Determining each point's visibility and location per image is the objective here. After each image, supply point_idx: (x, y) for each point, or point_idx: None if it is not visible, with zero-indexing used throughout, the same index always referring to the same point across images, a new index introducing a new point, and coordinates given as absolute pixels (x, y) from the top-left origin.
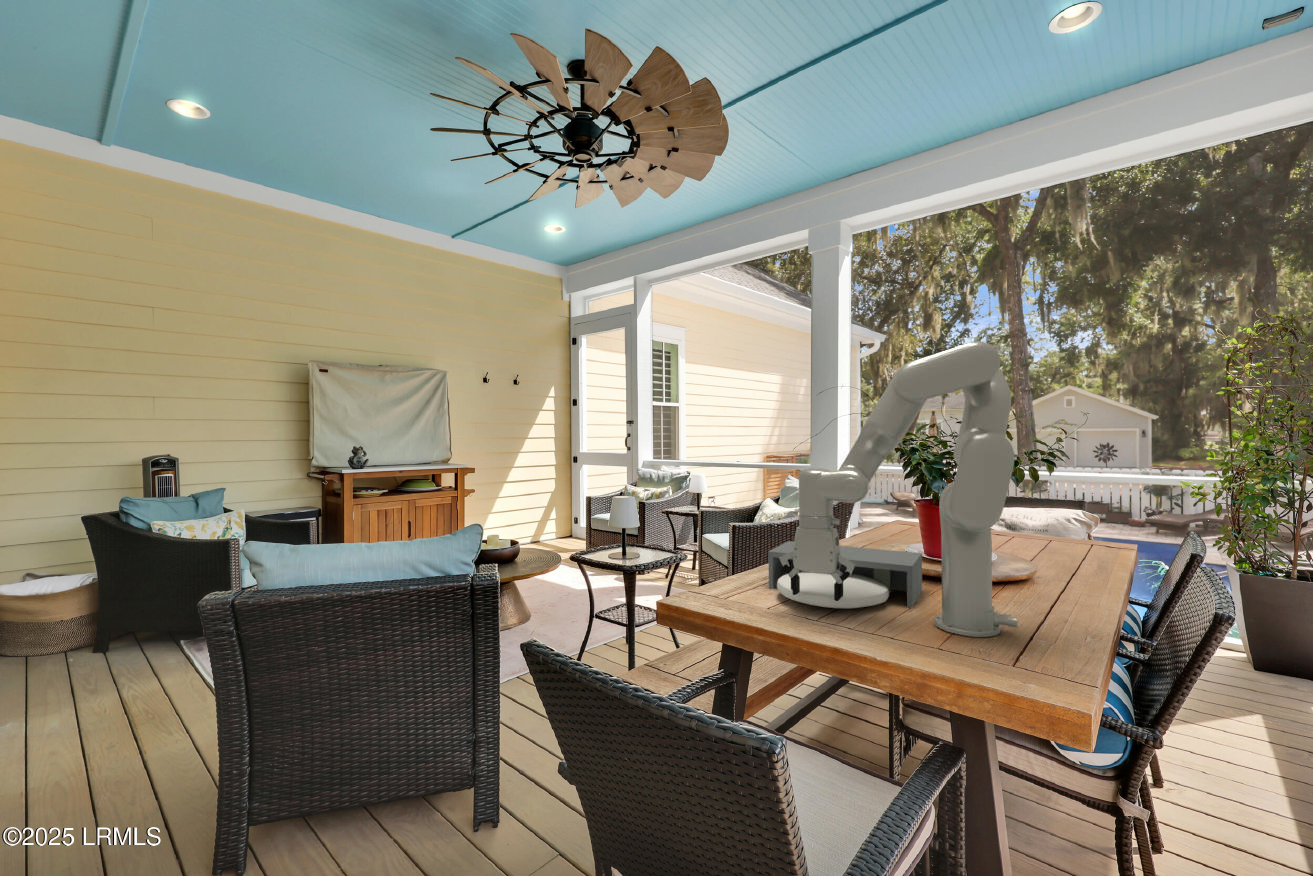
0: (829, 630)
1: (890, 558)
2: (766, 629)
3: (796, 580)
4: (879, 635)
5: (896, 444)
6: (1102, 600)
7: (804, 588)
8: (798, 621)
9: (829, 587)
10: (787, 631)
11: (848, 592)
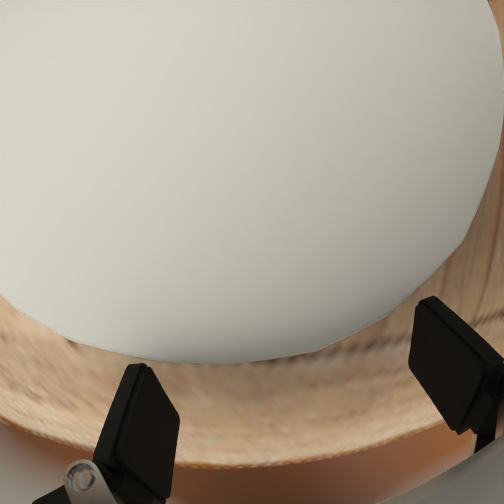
0: (373, 390)
1: None
2: (221, 464)
3: (162, 480)
4: (485, 320)
5: None
6: None
7: (138, 323)
8: (251, 397)
9: (329, 203)
10: (272, 453)
11: (459, 186)
